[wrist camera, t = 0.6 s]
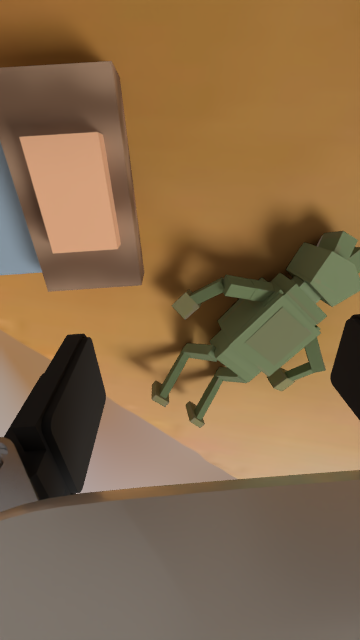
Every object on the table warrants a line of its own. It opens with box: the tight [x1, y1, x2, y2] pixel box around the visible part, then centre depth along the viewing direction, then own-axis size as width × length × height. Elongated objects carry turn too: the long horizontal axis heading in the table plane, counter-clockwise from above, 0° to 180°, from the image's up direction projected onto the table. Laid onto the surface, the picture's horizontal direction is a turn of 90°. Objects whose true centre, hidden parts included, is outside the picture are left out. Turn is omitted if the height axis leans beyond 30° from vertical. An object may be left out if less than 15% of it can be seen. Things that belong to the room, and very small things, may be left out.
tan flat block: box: [19, 132, 121, 254], centre depth 24 cm, size 9×6×2 cm, turn 3°
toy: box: [152, 231, 360, 428], centre depth 34 cm, size 21×8×30 cm
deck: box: [0, 61, 144, 292], centre depth 26 cm, size 18×10×4 cm, turn 3°
